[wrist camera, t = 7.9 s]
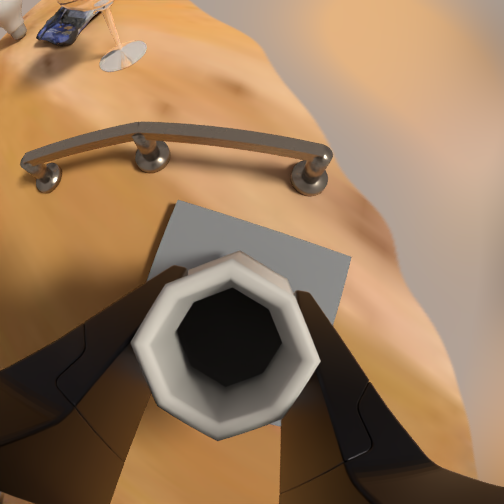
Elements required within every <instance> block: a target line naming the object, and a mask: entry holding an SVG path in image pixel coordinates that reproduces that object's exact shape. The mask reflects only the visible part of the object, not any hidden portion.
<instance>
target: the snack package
mask: <svg viewBox="0 0 504 504" xmlns="http://www.w3.org/2000/svg"><path fill="white" fill-rule="evenodd" d="M94 11H95V9H94V10H89V11H85V12H81V11H73V10H67V9H65V8H64V7H63V6H62V7H61V8H60V9H59V10H58V12H56V13H55V15H54V16H53V17H51V18H50V19H49V20H48V21H47V22H46V24H45V25H44V27H43V28H42V29H41V30H40V31H39V33H38V34H37V37H36V38H37V39H38V40H47V41H49V42H51V43H53V44H55V45H57V46H63V45H70V44H72V43H73V42H74V41H75V40H76V37H77V36H78V35H79V33H80V32H81V30H82V29H83V28H84V27H85V26H86V25H87V24H88V22H89V21H90V20H91V19H92V17H93V16H95V15H96V14H97V13H98V12H100V11H97V12H96V13H95V14H93V12H94ZM57 43H59V44H57Z"/></svg>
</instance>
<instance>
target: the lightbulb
mask: <svg viewBox="0 0 504 504" xmlns="http://www.w3.org/2000/svg"><path fill="white" fill-rule="evenodd" d="M21 8H22V0H0V27H2V28H4V29H5V30H6V31H7V32H8V33H9V34H11V36H12V37H13V38H14V39H15V40H17V39H21V38H23V37H24V36H25V33H26V31H27V29H26V27H25V25H24V20H23V18H22V14H21Z"/></svg>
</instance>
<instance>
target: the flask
mask: <svg viewBox="0 0 504 504" xmlns="http://www.w3.org/2000/svg"><path fill="white" fill-rule="evenodd" d="M175 331H176V333H175ZM131 345H132V348H133V350H134V353H135V356H136V358H137V361H138V363H139V366H140V368H141V370H142V373H143V375H144V377H145V380H146V382H147V384H148V387H149V389H150V391H151V393H152V395H153V398H154V400H155V402H156V404H157V406H158V407H160V408H161V409H163V410H164V411H166V412H168V413H169V414H171V415H172V416H174V417H176V418H177V419H179V420H181V421H182V422H184V423H186V424H187V425H189V426H191V427H193V428H194V429H196V430H198V431H200V432H201V433H203V434H205V435H207V436H209V437H211V438H213V439H215V440H217V441H220V440H223V439H226V438H230V437H233V436H236V435H239V434H242V433H245V432H248V431H251V430H254V429H257V428H260V427H262V426H265V425H268V424H271V423H273V422H276V421H278V420H281V419H283V418H284V416H285V415H286V414H287V412H288V411H289V409H290V408H291V406H292V405H293V403H294V402H295V400H296V399H297V397H298V396H299V394H300V393H301V391H302V390H303V388H304V387H305V385H306V384H307V382H308V381H309V379H310V377H311V376H312V374H313V373H314V371H315V369H316V368H317V366H318V365H319V363H320V358H319V356H318V353H317V351H316V348H315V346H314V343H313V340H312V338H311V335H310V333H309V330H308V328H307V325H306V323H305V320H304V318H303V315H302V313H301V310H300V308H299V305H298V303H297V300H296V298H295V296H293V291H292V289H291V286H290V284H289V281H288V279H287V278H285V277H283V276H282V275H280V274H278V273H277V272H275V271H273V270H272V269H270V268H269V267H267V266H265V265H264V264H262V263H260V262H259V261H257V260H255V259H254V258H252V257H251V256H249V255H247V254H246V253H244V252H242V251H241V250H239V251H237V252H234V253H232V254H229V255H226V256H224V257H221V258H218V259H216V260H213V261H211V262H208V263H205V264H203V265H200V266H197V267H195V268H192V269H190V270H188V276H185V277H183V278H180V279H177V280H175V281H172V282H170V283H167V284H165V286H164V287H163V289H162V290H161V292H160V294H159V295H158V297H157V299H156V300H155V302H154V303H153V305H152V307H151V308H150V310H149V312H148V313H147V315H146V317H145V318H144V320H143V322H142V323H141V325H140V327H139V329H138V330H137V332H136V334H135V335H134V337H133V339H132V341H131Z"/></svg>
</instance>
